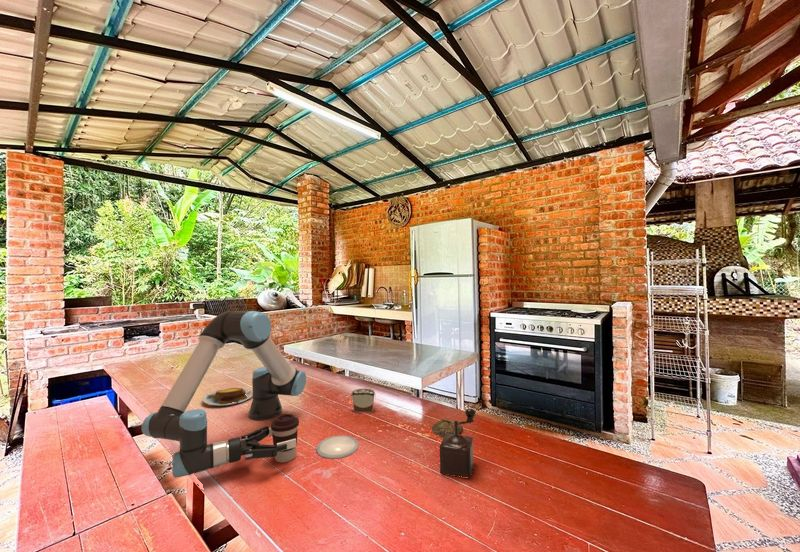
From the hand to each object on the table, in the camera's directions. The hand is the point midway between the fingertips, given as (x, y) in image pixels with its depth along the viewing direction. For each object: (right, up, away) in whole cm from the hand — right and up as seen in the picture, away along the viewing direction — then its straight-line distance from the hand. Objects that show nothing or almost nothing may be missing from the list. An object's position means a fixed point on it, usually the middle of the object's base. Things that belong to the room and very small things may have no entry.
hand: (291, 434), depth 122 cm
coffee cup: (-2, -8, -1) cm, 8 cm away
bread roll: (+61, -8, +19) cm, 64 cm away
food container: (+23, -8, +42) cm, 48 cm away
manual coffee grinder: (+62, -7, -7) cm, 63 cm away
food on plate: (-55, -9, +59) cm, 81 cm away
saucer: (+16, -8, +6) cm, 19 cm away
